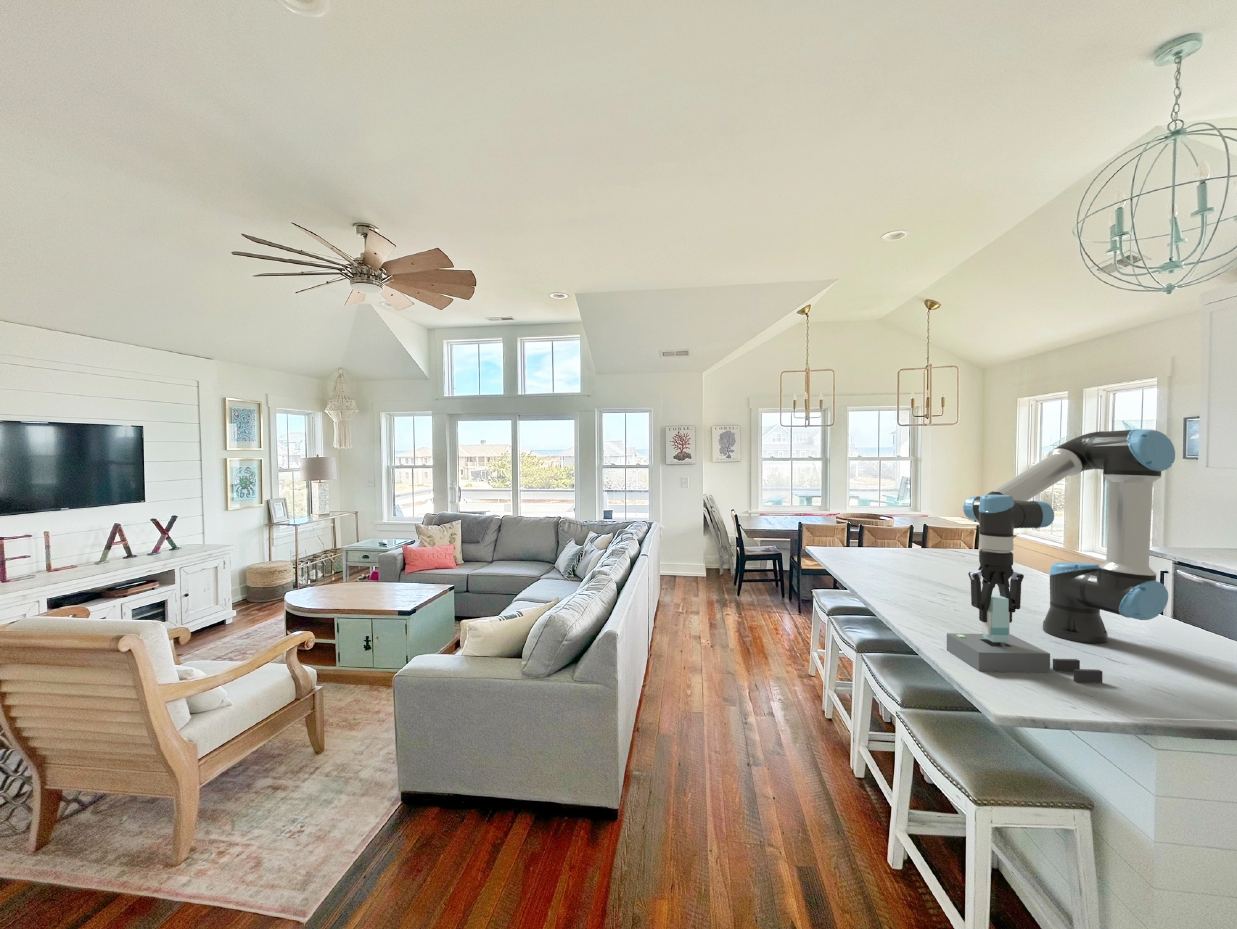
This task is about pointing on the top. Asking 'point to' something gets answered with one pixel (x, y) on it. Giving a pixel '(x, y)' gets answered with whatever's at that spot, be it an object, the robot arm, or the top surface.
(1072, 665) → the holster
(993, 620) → the plug
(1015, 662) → the port block
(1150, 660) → the top surface
